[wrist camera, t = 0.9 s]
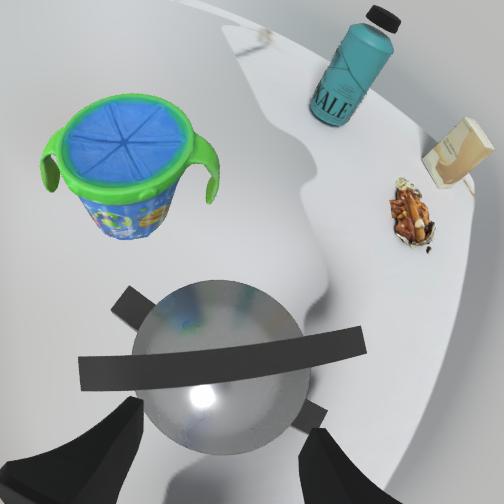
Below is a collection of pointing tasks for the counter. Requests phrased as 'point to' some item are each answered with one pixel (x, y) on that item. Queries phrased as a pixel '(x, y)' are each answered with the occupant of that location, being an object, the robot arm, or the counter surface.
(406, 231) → the brown lumpy piece
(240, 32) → the counter surface
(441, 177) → the skincare box
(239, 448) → the lid
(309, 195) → the counter surface
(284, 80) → the counter surface
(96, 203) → the snack cup
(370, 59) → the beverage bottle
